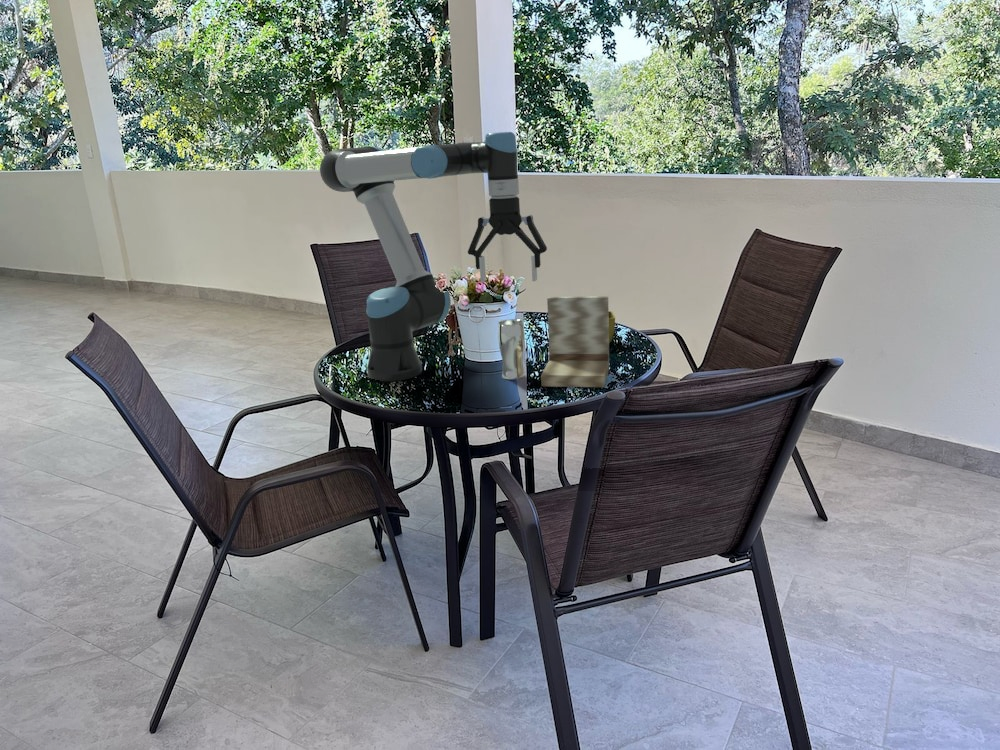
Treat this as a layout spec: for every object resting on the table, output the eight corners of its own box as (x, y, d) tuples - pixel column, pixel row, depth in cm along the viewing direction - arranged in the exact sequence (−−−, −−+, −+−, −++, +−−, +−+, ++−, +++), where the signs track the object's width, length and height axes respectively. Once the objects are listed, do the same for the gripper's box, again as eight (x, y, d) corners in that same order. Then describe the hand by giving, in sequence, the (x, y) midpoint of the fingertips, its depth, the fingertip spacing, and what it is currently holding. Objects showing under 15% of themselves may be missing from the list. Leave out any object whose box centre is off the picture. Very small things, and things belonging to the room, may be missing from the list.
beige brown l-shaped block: (541, 386, 195) (538, 310, 189) (550, 368, 210) (548, 296, 204) (604, 387, 192) (603, 309, 186) (609, 368, 206) (608, 296, 200)
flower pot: (615, 347, 227) (615, 317, 224) (586, 348, 227) (585, 319, 224) (612, 339, 235) (611, 310, 232) (583, 340, 235) (583, 312, 233)
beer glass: (508, 371, 209) (505, 318, 205) (530, 374, 206) (528, 319, 201) (495, 378, 204) (492, 324, 199) (518, 381, 200) (515, 326, 196)
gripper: (452, 200, 190) (458, 284, 196) (551, 195, 184) (554, 282, 191) (460, 197, 197) (466, 279, 203) (555, 193, 191) (558, 277, 198)
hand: (508, 281), depth 197 cm, fingers open, 13 cm apart
